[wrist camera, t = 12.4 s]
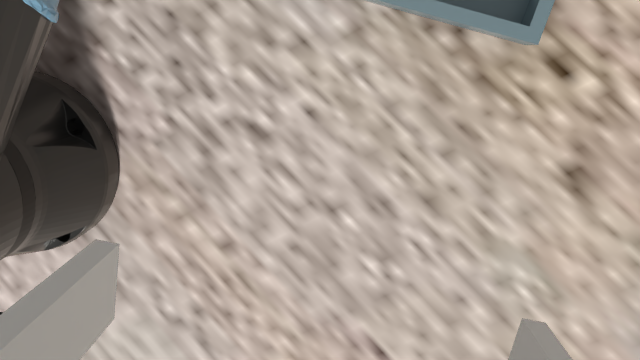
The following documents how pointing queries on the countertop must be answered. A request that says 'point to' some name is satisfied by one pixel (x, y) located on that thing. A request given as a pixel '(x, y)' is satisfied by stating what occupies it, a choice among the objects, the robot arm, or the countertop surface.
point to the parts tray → (484, 15)
